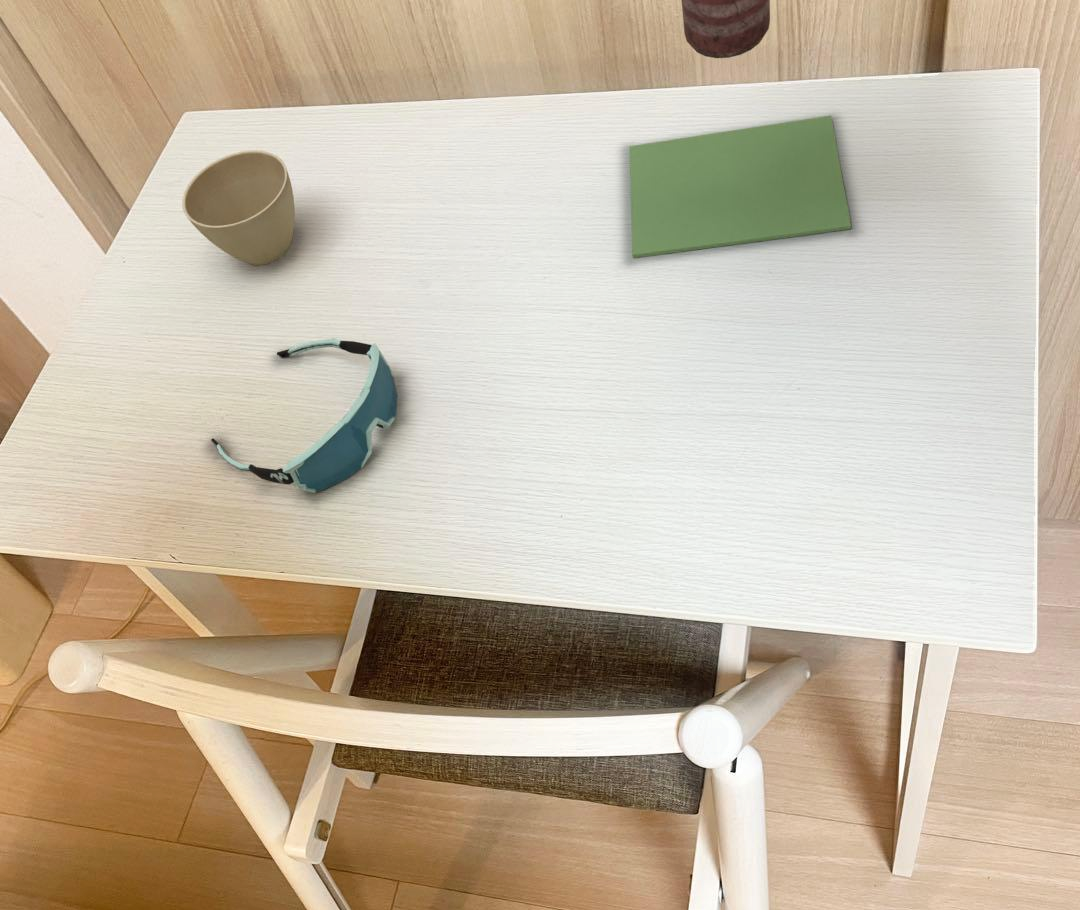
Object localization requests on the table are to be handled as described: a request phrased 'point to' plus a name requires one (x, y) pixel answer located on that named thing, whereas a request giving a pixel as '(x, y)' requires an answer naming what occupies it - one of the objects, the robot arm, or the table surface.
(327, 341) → the sunglasses
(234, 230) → the flower pot
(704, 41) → the can
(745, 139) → the felt cloth
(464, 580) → the table surface
